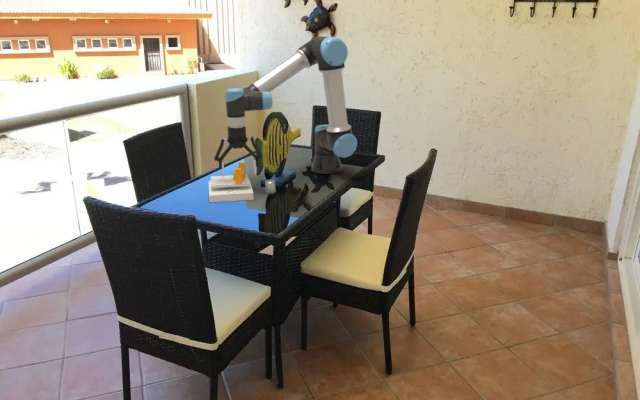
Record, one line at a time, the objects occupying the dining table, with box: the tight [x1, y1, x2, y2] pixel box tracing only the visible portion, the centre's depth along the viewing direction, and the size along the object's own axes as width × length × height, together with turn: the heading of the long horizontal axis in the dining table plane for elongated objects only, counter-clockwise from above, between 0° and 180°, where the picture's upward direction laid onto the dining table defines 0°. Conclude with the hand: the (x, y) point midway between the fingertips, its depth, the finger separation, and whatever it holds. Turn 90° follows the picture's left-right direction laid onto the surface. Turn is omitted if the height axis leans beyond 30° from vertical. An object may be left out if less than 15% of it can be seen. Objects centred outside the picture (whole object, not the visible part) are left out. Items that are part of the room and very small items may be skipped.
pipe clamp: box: [232, 161, 246, 184], centre depth 212 cm, size 12×4×6 cm, turn 179°
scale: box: [208, 174, 254, 203], centre depth 213 cm, size 18×20×6 cm
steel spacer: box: [264, 179, 276, 195], centre depth 214 cm, size 4×4×5 cm
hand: (239, 174), depth 214 cm, fingers open, 13 cm apart
